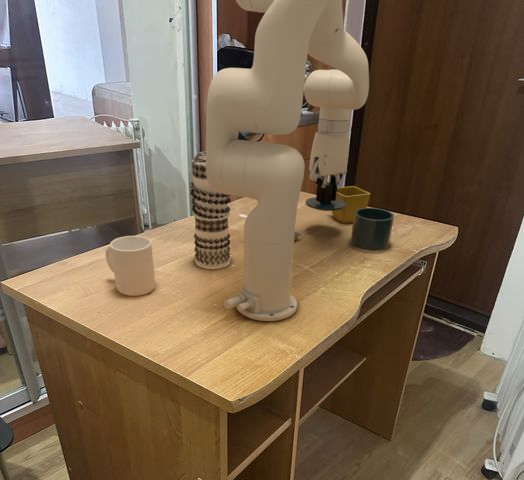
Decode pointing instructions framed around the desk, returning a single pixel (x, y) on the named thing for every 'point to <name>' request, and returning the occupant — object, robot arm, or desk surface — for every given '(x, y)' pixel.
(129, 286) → the mug
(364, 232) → the pot
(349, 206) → the flower pot
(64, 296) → the desk surface
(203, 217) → the decorative candle
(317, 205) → the pot lid
